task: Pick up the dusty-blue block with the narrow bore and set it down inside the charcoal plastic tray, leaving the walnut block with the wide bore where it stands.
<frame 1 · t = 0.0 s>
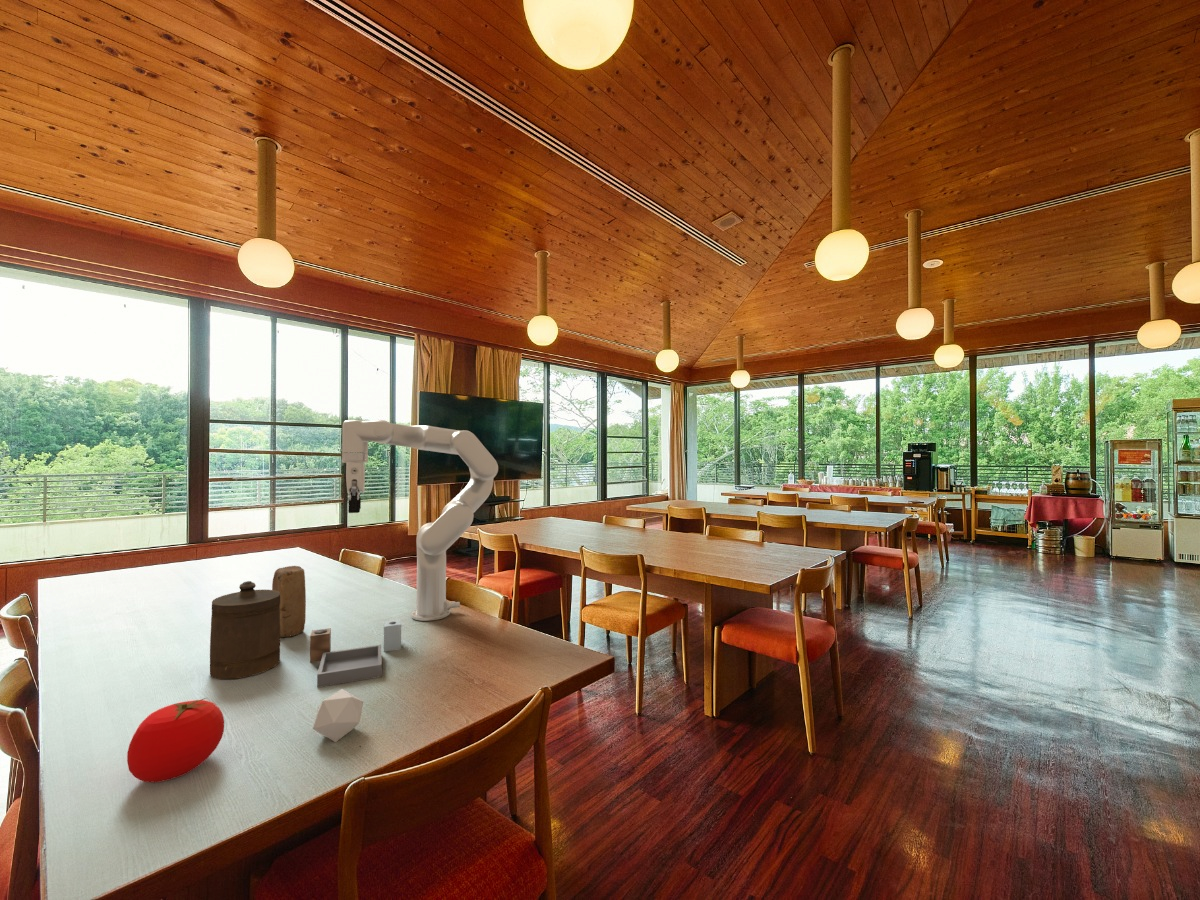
hand: (354, 511, 161), 37 cm above the table, tool pointing down, fingers open, 9 cm apart
die: (338, 735, 98), on the table
walnut block: (320, 657, 135), on the table
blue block: (392, 647, 142), on the table
tray: (351, 670, 127), on the table
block: (287, 633, 153), on the table
tomato: (178, 770, 87), on the table
wooden container: (245, 667, 129), on the table
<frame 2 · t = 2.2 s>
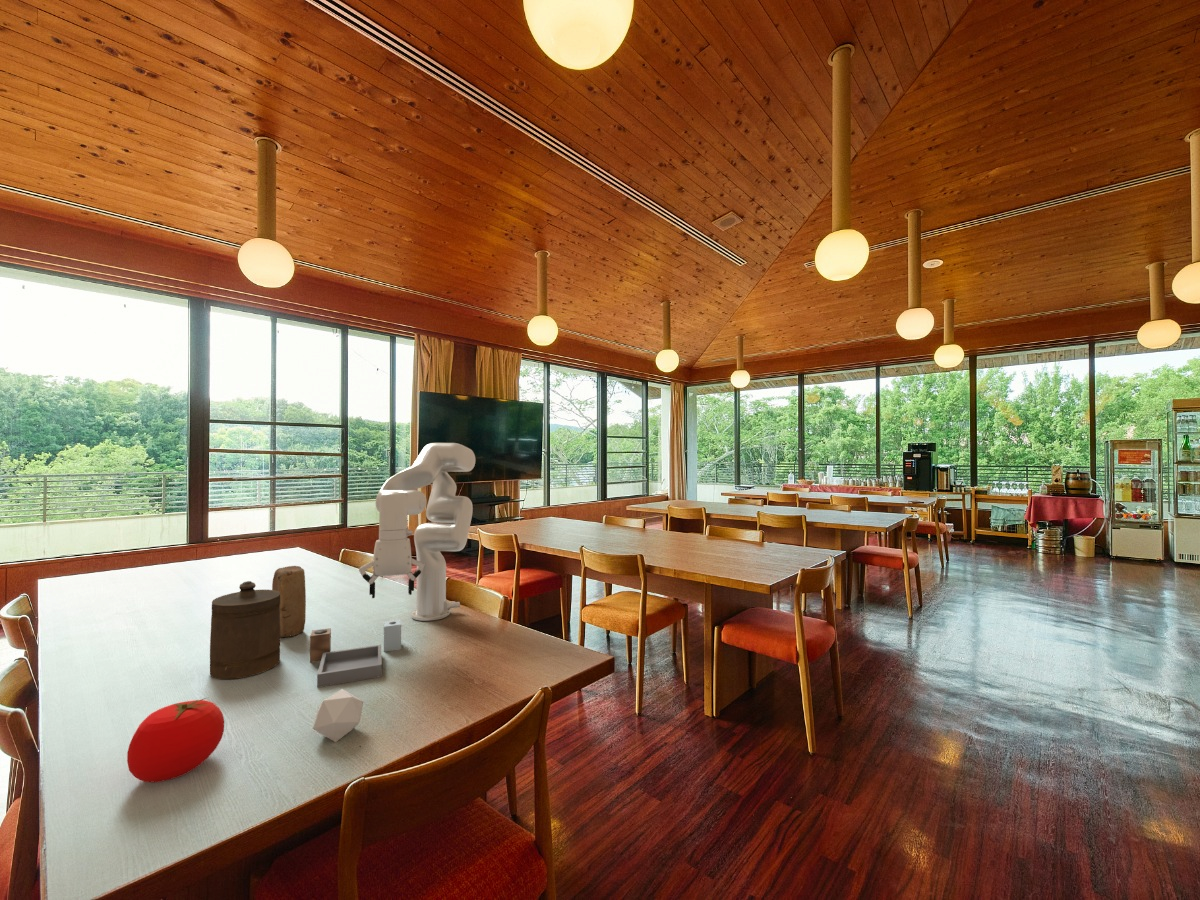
hand: (391, 595, 142), 15 cm above the table, tool pointing down, fingers open, 9 cm apart
nothing on the table moved.
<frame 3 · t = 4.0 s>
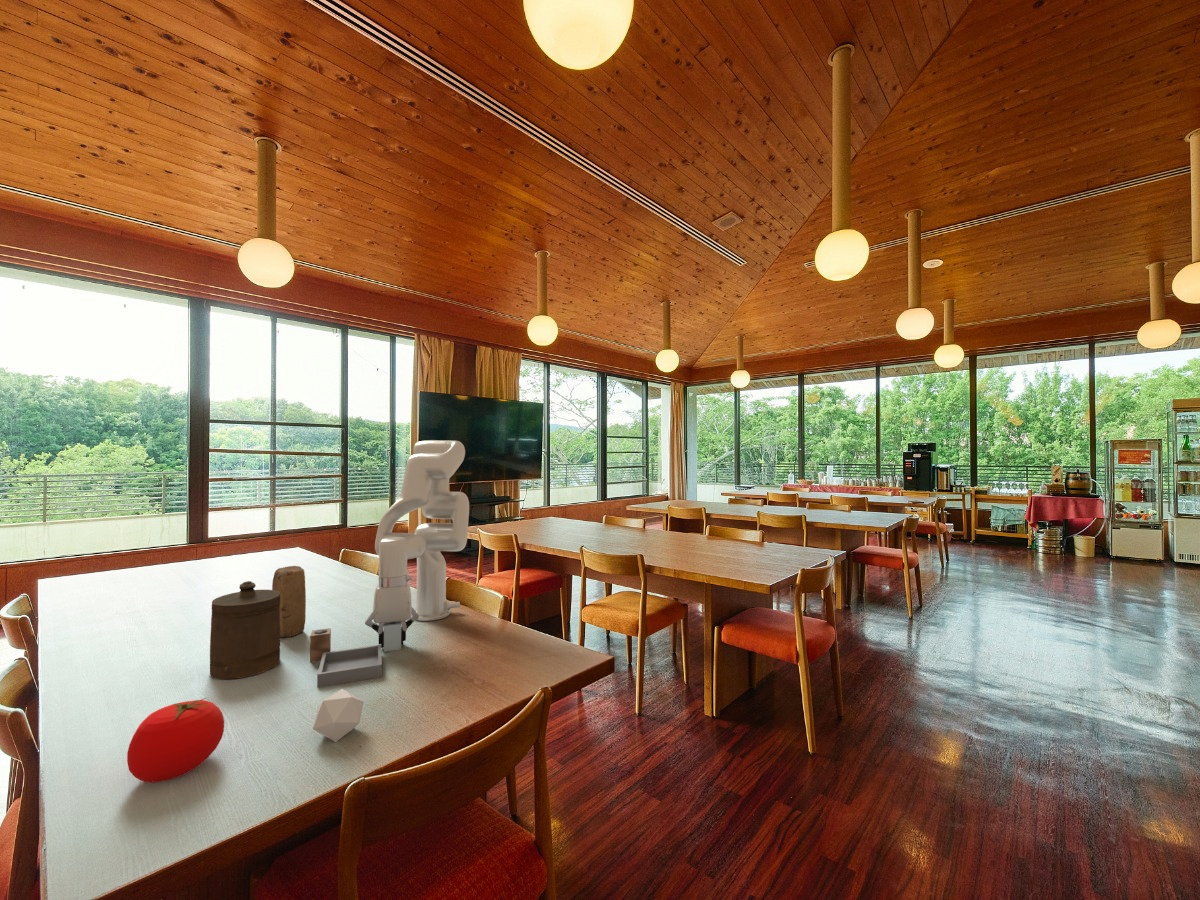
hand: (392, 644, 142), 1 cm above the table, tool pointing down, fingers closed on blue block, 4 cm apart
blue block: (392, 647, 142), on the table, touching gripper
everything else where it was.
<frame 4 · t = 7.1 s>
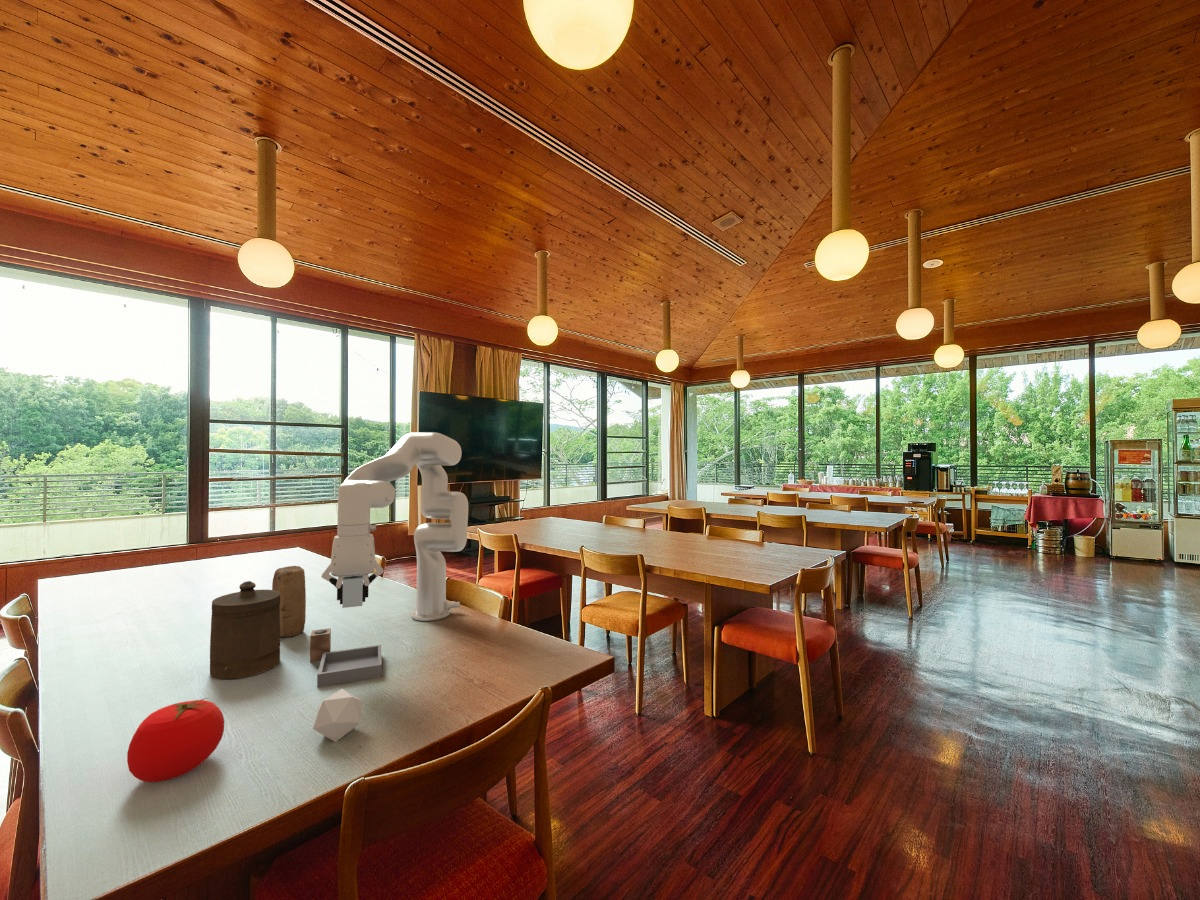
hand: (352, 600, 127), 18 cm above the table, tool pointing down, fingers closed on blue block, 4 cm apart
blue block: (352, 604, 127), point 17 cm above the table, touching gripper
everything else where it was.
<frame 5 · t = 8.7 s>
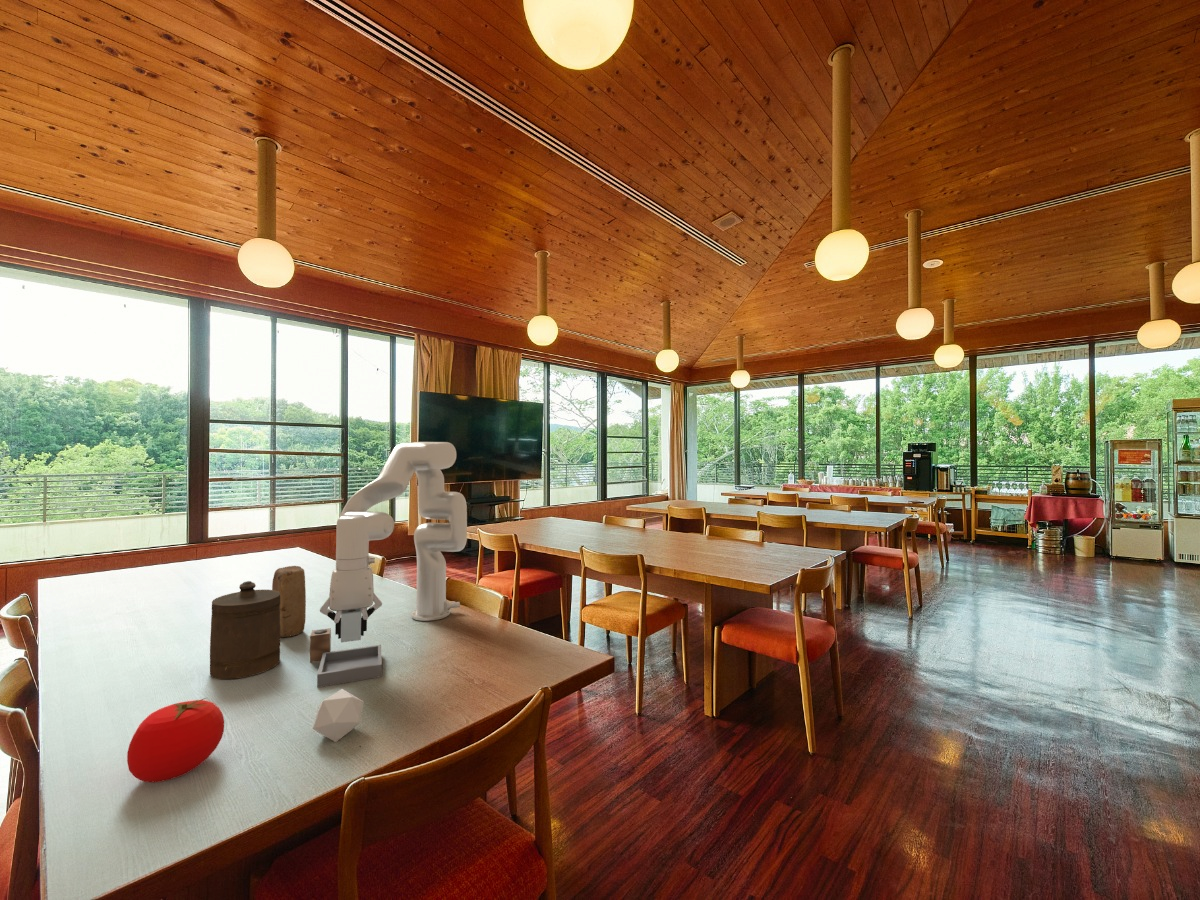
hand: (351, 634, 127), 9 cm above the table, tool pointing down, fingers closed on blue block, 4 cm apart
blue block: (351, 638, 127), point 8 cm above the table, touching gripper
everything else where it was.
when the fingers open (4 cm above the table, at t = 10.1 s): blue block drops 2 cm, resting on tray.
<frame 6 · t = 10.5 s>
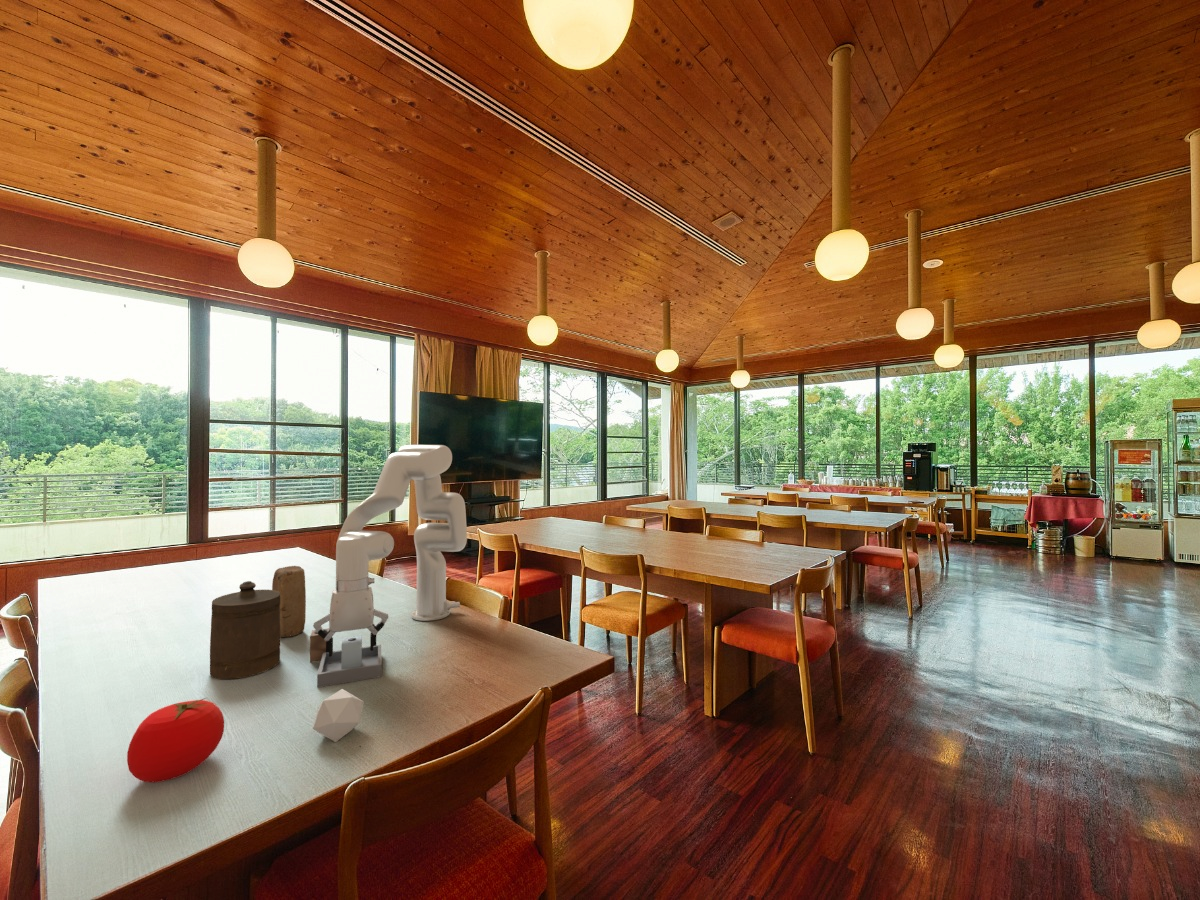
hand: (351, 651, 127), 5 cm above the table, tool pointing down, fingers open, 9 cm apart
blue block: (351, 667, 127), point 1 cm above the table, touching tray
everything else where it was.
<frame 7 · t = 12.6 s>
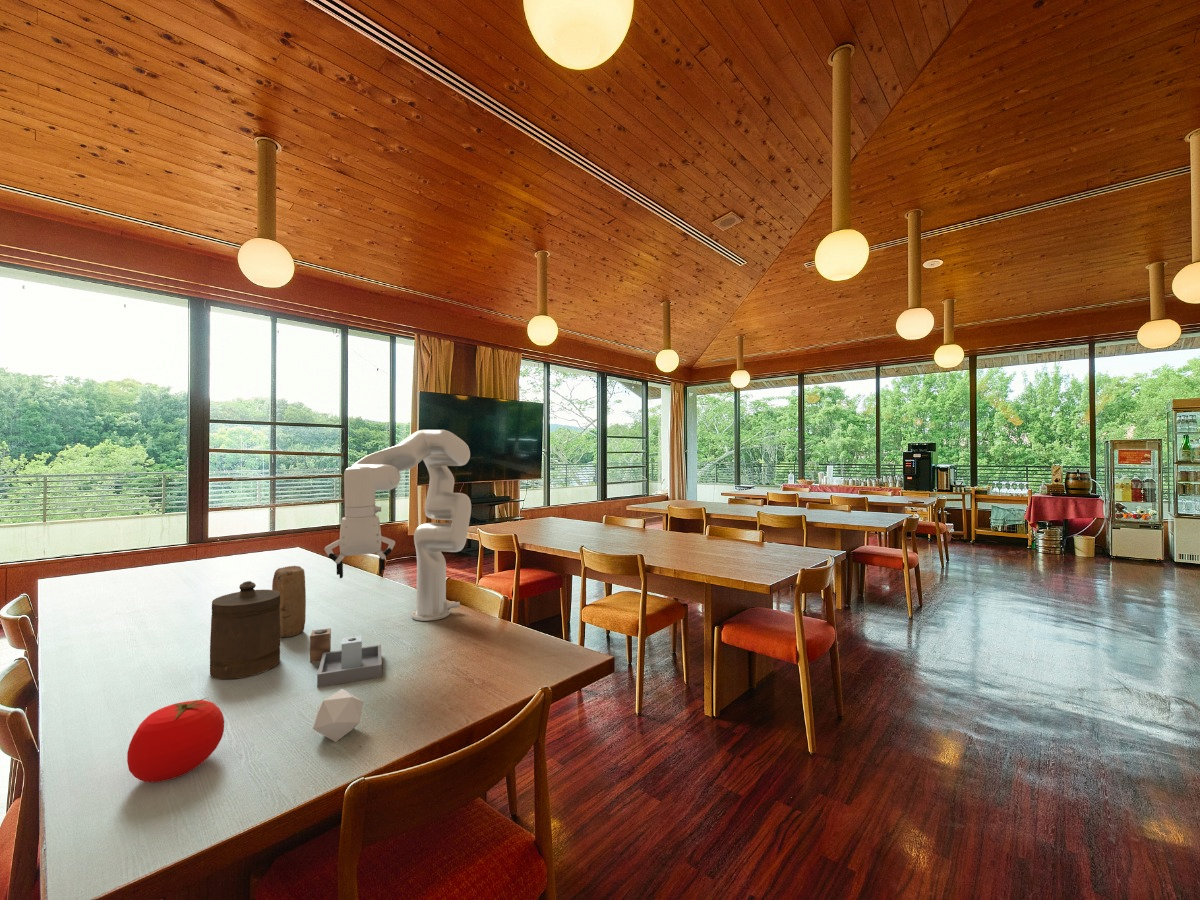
hand: (361, 574, 135), 23 cm above the table, tool pointing down, fingers open, 9 cm apart
nothing on the table moved.
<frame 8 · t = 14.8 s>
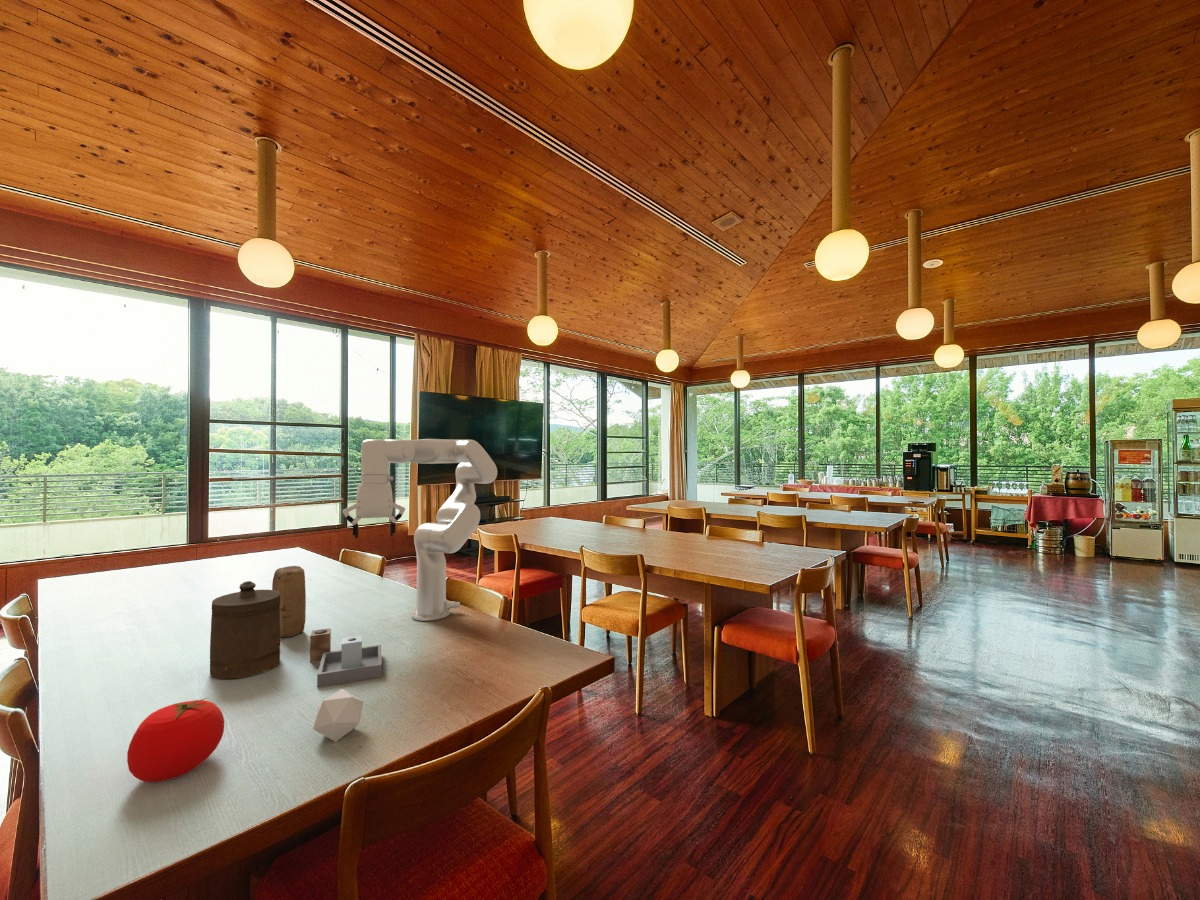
hand: (374, 536, 150), 30 cm above the table, tool pointing down, fingers open, 9 cm apart
nothing on the table moved.
at the end: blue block inside the target area on the tray (0.1 cm from its centre), point 0.8 cm above the tray's base; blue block tilted 0°; walnut block moved 0.1 cm from its start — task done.
